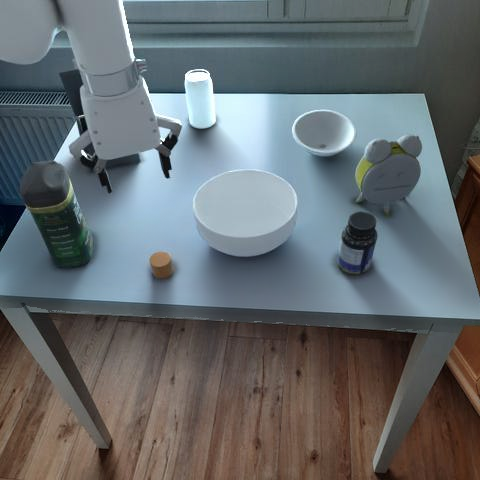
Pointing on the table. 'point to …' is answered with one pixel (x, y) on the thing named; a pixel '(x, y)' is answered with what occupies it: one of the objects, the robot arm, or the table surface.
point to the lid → (73, 88)
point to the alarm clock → (389, 170)
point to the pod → (161, 264)
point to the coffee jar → (57, 213)
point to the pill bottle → (357, 243)
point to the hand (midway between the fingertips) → (137, 180)
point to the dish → (324, 132)
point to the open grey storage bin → (90, 149)
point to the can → (200, 99)
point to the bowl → (245, 212)
